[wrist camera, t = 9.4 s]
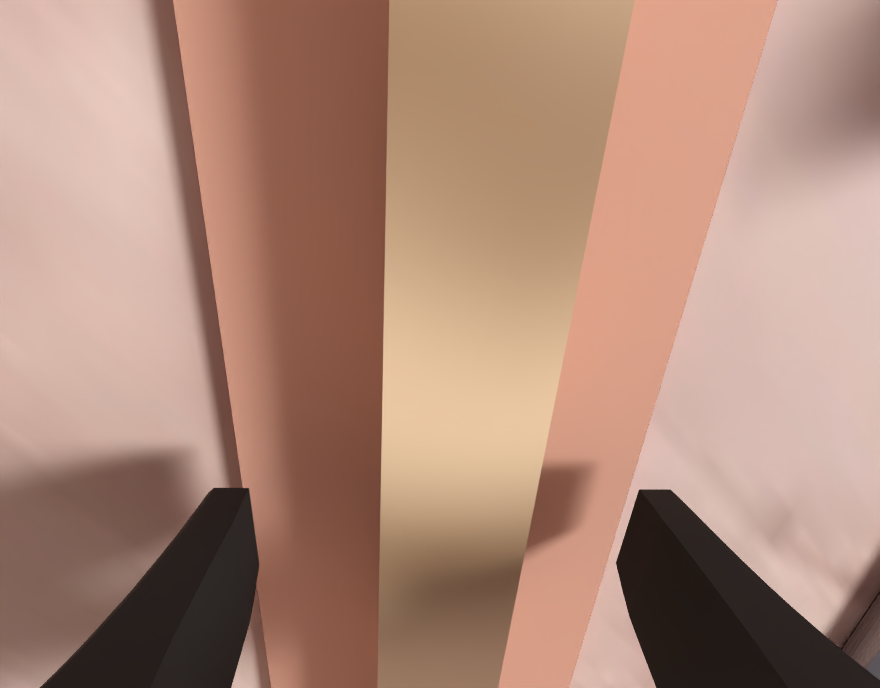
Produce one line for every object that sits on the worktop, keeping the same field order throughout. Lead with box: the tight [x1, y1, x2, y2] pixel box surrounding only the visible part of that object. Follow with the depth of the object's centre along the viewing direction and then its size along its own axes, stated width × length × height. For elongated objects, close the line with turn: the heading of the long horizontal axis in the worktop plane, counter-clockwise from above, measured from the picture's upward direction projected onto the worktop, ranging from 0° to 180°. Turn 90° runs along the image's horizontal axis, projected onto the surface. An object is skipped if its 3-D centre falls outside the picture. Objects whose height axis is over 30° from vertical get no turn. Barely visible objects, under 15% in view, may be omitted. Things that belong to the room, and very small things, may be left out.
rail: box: [377, 0, 635, 688], centre depth 11 cm, size 24×2×2 cm, turn 176°
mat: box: [173, 0, 778, 688], centre depth 12 cm, size 24×8×1 cm, turn 176°
